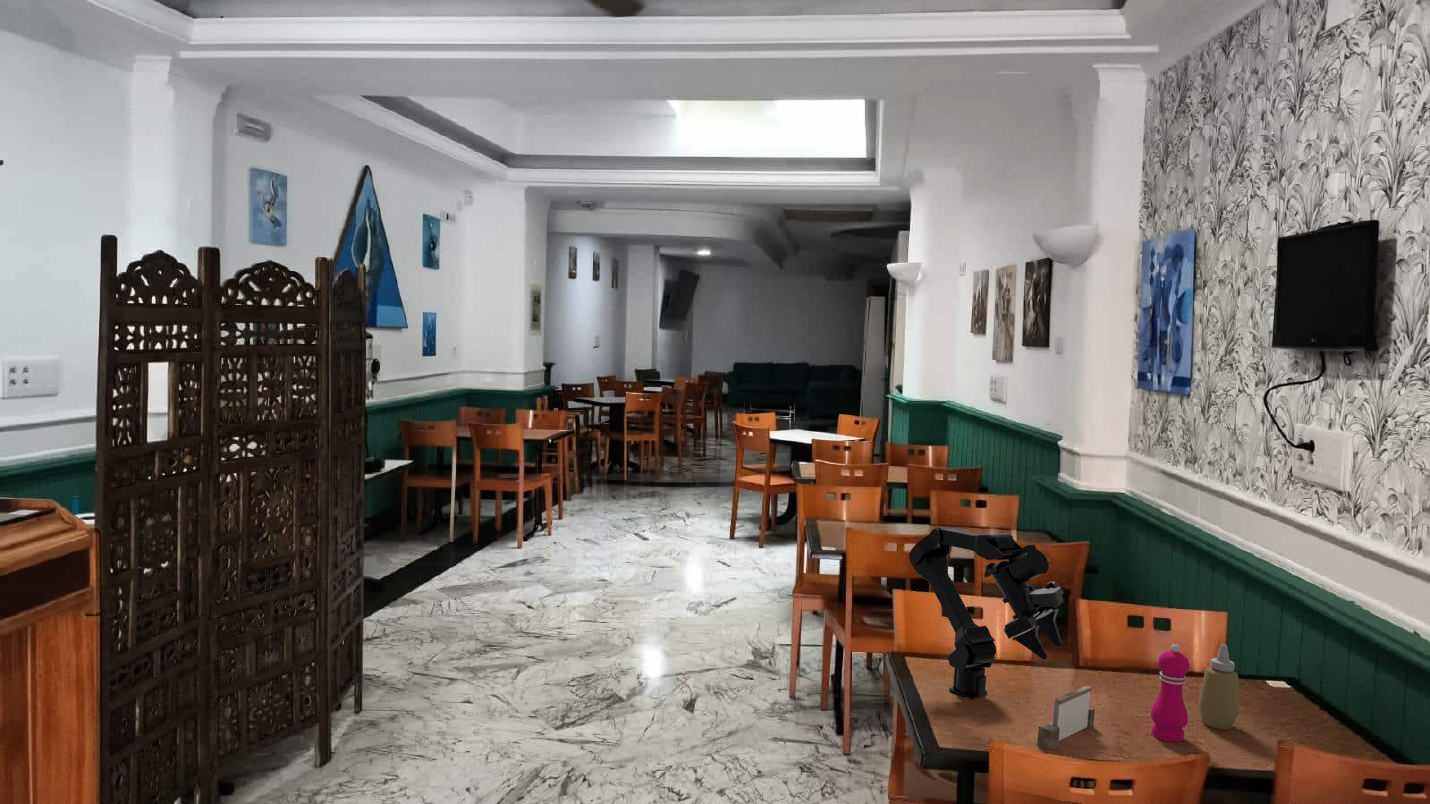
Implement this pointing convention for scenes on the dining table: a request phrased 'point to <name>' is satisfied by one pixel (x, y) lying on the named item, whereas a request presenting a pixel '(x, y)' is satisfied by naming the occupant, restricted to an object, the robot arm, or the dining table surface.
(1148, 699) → the dining table surface
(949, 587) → the robot arm
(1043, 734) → the gate frame
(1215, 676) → the squeeze bottle
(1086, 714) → the gate
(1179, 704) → the pepper mill
